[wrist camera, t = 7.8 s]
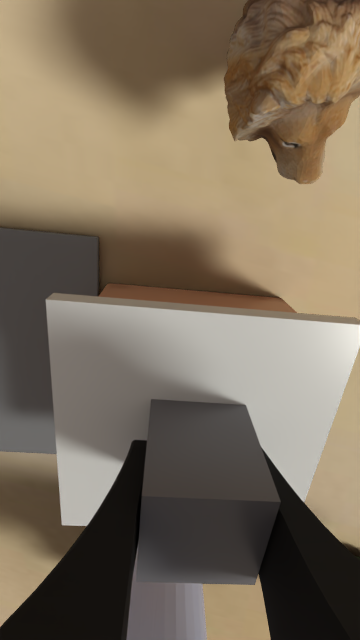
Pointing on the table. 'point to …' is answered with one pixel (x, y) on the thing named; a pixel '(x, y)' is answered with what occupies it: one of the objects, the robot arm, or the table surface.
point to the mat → (35, 327)
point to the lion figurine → (293, 78)
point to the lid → (193, 420)
